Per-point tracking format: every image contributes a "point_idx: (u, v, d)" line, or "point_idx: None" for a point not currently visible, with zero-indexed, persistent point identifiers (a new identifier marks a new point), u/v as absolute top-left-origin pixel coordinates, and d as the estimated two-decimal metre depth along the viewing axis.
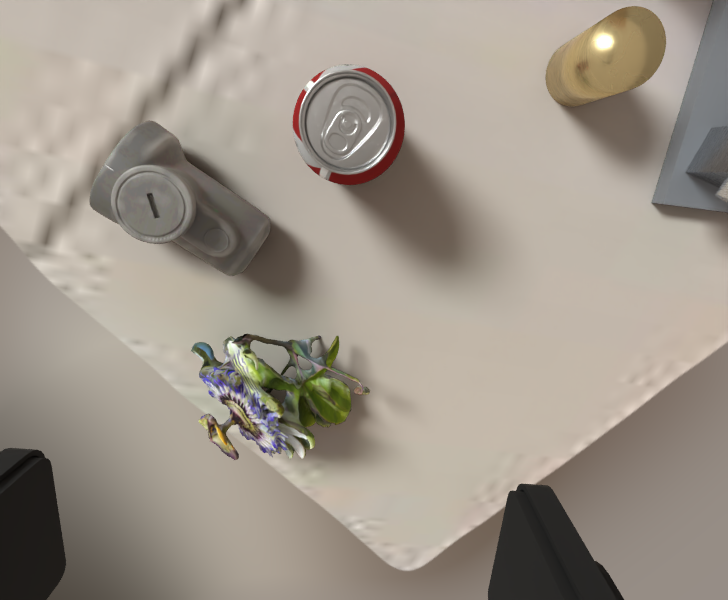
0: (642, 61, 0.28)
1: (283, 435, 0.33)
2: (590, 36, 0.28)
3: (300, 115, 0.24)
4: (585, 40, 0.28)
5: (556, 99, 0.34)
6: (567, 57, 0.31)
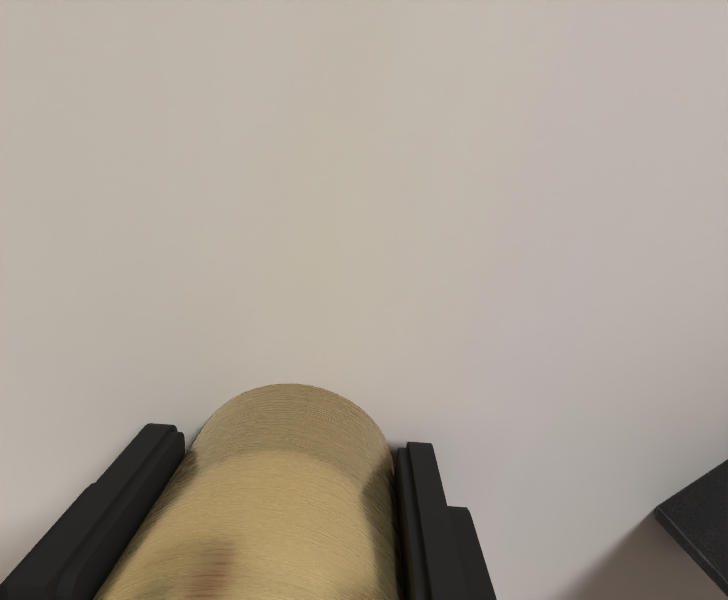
0: None
1: None
2: None
3: None
4: None
5: (201, 431, 0.10)
6: (263, 502, 0.06)
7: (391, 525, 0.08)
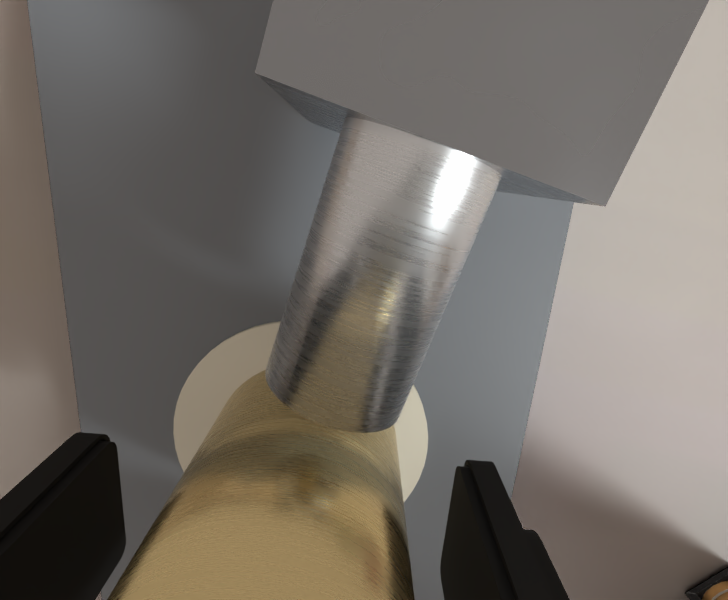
0: None
1: None
2: None
3: None
4: (290, 576, 0.05)
5: (225, 405, 0.11)
6: (288, 452, 0.07)
7: (395, 479, 0.09)
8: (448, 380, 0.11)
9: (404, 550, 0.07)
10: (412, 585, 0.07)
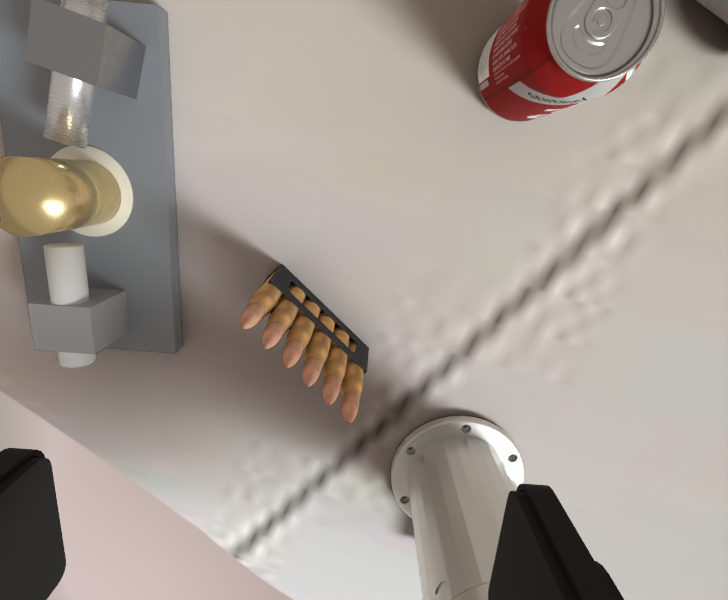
0: (13, 216, 0.26)
1: None
2: (28, 158, 0.26)
3: (660, 24, 0.20)
4: (34, 158, 0.27)
5: None
6: (53, 158, 0.29)
7: (95, 179, 0.30)
8: (135, 168, 0.33)
9: (81, 181, 0.29)
10: (81, 187, 0.28)
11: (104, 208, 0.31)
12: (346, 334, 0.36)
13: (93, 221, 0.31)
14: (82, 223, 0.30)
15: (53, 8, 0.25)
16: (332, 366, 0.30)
